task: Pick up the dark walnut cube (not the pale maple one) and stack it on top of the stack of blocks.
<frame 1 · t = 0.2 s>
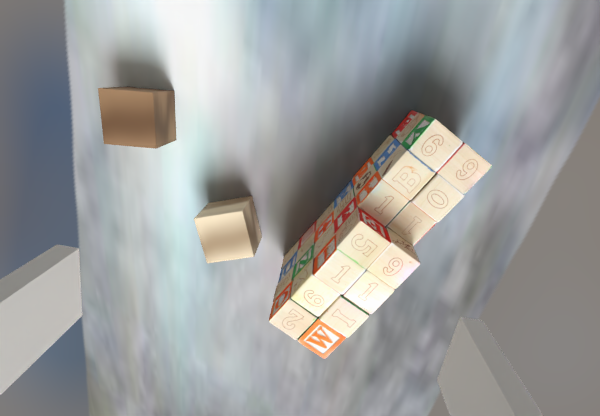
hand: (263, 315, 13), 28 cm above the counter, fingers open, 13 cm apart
stack of blocks: (363, 205, 41), on the counter
maple cube: (235, 219, 42), on the counter
walnut cube: (152, 113, 39), on the counter
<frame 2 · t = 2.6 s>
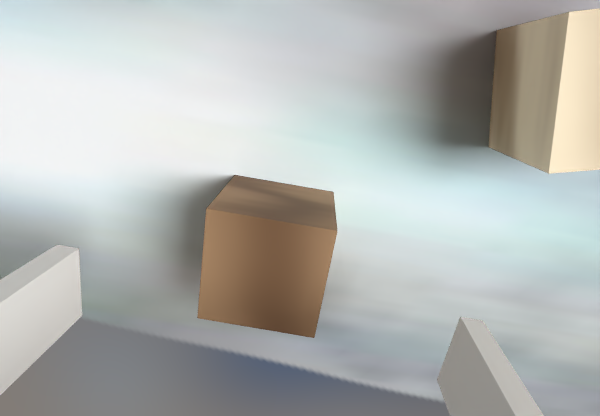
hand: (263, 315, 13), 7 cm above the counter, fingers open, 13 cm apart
maple cube: (550, 85, 16), on the counter
walnut cube: (277, 228, 19), on the counter
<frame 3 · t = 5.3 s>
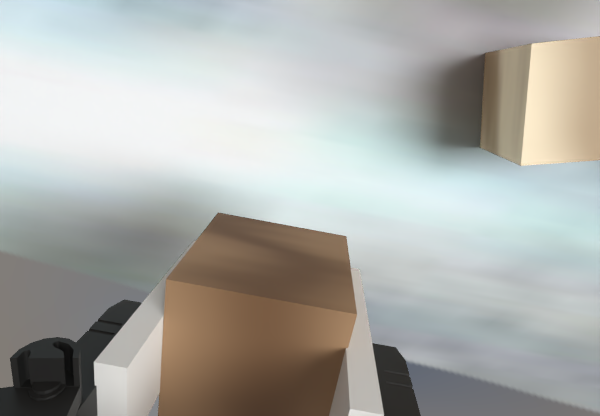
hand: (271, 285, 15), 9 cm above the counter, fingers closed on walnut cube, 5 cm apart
maple cube: (530, 97, 20), on the counter
walnut cube: (272, 280, 15), point 9 cm above the counter, touching gripper
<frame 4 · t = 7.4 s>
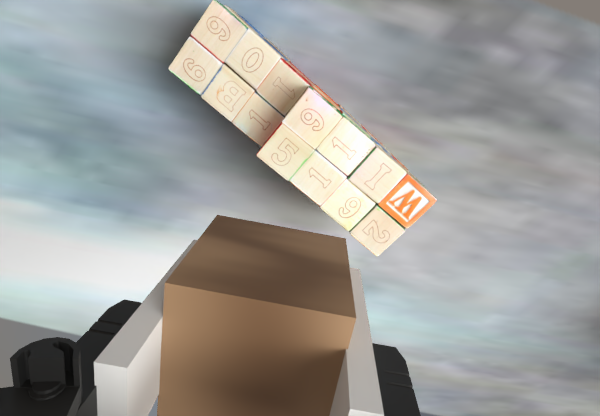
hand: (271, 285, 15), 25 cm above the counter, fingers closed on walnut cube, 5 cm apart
stack of blocks: (306, 118, 37), on the counter
walnut cube: (271, 282, 15), point 25 cm above the counter, touching gripper
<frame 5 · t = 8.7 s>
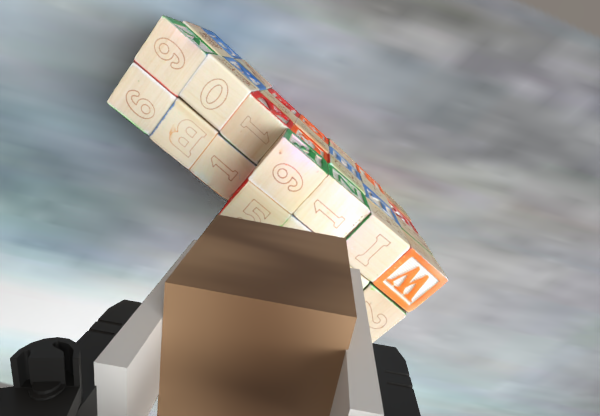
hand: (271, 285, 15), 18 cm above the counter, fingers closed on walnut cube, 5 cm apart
stack of blocks: (290, 152, 31), on the counter
walnut cube: (272, 282, 15), point 18 cm above the counter, touching gripper
when the fingers open (14 cm above the counter, at t = 9.6 s): walnut cube drops 1 cm, resting on stack of blocks.
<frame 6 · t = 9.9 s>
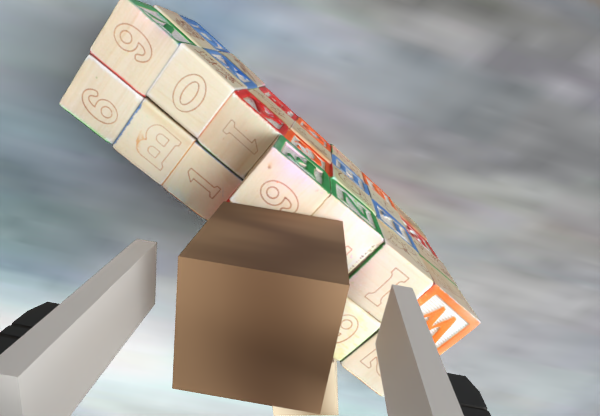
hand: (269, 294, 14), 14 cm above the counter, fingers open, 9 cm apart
stack of blocks: (287, 160, 27), on the counter, touching walnut cube
maple cube: (306, 344, 32), on the counter
walnut cube: (275, 264, 16), point 12 cm above the counter, touching stack of blocks
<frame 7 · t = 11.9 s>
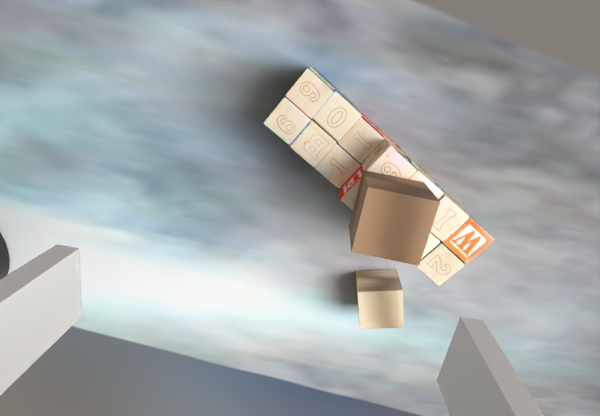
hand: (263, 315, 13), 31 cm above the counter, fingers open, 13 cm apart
stack of blocks: (366, 155, 42), on the counter, touching walnut cube
maple cube: (376, 286, 47), on the counter
walnut cube: (385, 204, 31), point 12 cm above the counter, touching stack of blocks
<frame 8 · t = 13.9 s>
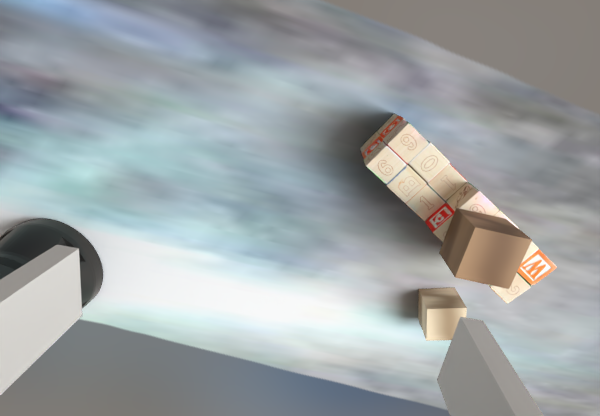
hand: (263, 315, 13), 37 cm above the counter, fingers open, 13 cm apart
stack of blocks: (432, 186, 49), on the counter, touching walnut cube
maple cube: (435, 302, 54), on the counter
walnut cube: (471, 235, 37), point 12 cm above the counter, touching stack of blocks
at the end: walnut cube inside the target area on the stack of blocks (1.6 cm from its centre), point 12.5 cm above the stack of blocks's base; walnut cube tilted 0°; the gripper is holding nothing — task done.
